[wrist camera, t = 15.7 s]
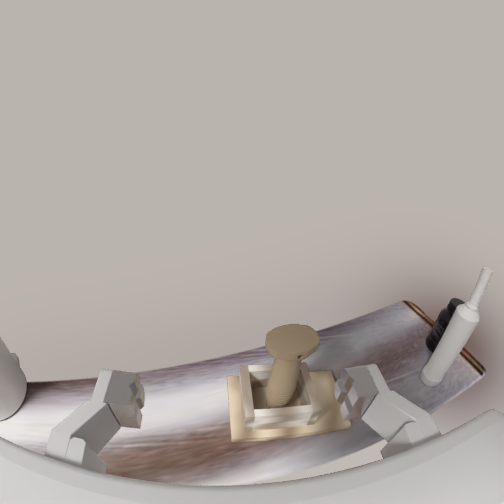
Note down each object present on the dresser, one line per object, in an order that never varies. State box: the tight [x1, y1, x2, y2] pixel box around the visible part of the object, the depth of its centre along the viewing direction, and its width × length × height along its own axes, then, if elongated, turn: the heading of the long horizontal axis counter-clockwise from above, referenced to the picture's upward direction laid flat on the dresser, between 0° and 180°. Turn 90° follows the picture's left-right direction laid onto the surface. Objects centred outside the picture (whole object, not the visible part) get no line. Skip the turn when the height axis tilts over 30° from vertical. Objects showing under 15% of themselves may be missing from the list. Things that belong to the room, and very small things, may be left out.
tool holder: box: [227, 362, 351, 442], centre depth 39 cm, size 18×12×6 cm, turn 96°
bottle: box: [420, 266, 493, 387], centre depth 38 cm, size 5×5×25 cm
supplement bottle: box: [426, 298, 465, 353], centre depth 49 cm, size 7×7×12 cm
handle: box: [265, 324, 320, 409], centre depth 36 cm, size 5×6×15 cm
